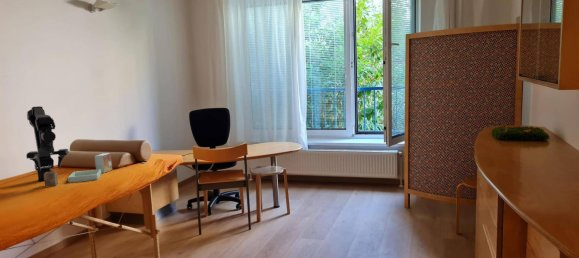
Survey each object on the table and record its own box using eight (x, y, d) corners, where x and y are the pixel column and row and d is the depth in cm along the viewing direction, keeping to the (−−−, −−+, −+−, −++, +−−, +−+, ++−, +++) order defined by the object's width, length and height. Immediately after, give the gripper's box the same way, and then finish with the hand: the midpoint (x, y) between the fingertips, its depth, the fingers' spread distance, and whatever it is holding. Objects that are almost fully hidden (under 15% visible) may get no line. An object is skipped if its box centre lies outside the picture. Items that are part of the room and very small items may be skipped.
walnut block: (45, 187, 223) (43, 174, 222) (47, 184, 228) (46, 172, 227) (55, 186, 225) (54, 173, 224) (58, 183, 229) (56, 171, 229)
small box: (104, 173, 251) (102, 155, 250) (96, 173, 252) (94, 155, 251) (112, 170, 259) (111, 153, 258) (104, 170, 260) (102, 153, 259)
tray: (68, 182, 231) (68, 177, 230) (74, 176, 244) (73, 171, 244) (97, 179, 235) (97, 174, 234) (101, 174, 248) (100, 169, 248)
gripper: (21, 144, 213) (25, 174, 215) (62, 141, 218) (65, 171, 220) (28, 141, 224) (31, 170, 226) (67, 138, 229) (70, 166, 231)
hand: (49, 169), depth 225 cm, fingers open, 9 cm apart
